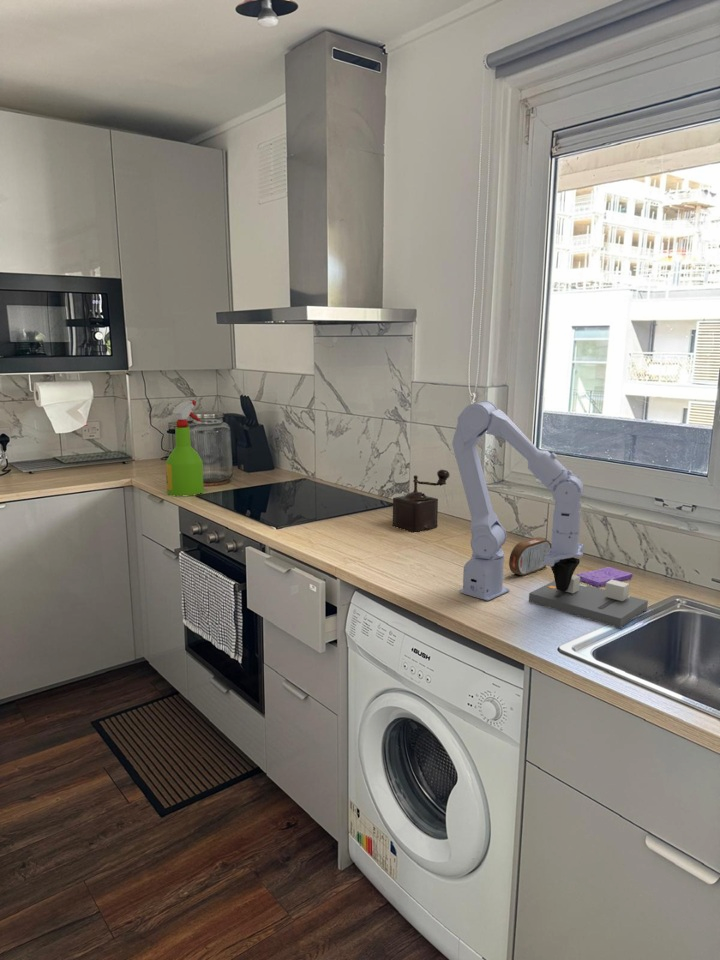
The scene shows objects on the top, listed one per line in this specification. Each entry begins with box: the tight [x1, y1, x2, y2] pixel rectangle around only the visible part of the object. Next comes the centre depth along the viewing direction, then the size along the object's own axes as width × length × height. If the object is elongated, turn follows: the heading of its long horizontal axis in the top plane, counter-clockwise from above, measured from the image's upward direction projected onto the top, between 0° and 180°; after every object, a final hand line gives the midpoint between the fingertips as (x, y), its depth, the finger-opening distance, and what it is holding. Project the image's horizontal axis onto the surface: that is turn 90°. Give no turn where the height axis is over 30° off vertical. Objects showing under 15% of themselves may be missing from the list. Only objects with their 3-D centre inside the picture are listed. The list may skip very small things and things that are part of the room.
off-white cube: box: [566, 574, 581, 593], centre depth 157 cm, size 3×4×3 cm
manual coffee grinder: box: [392, 469, 450, 533], centre depth 218 cm, size 16×11×18 cm
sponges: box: [575, 566, 634, 588], centre depth 171 cm, size 7×13×2 cm, turn 122°
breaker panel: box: [528, 580, 649, 629], centre depth 153 cm, size 14×21×2 cm, turn 47°
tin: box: [508, 536, 552, 577], centre depth 176 cm, size 15×3×8 cm, turn 131°
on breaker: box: [604, 580, 630, 601], centre depth 152 cm, size 3×4×3 cm
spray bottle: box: [165, 399, 205, 497], centre depth 265 cm, size 14×18×35 cm
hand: (562, 589), depth 155 cm, fingers closed
